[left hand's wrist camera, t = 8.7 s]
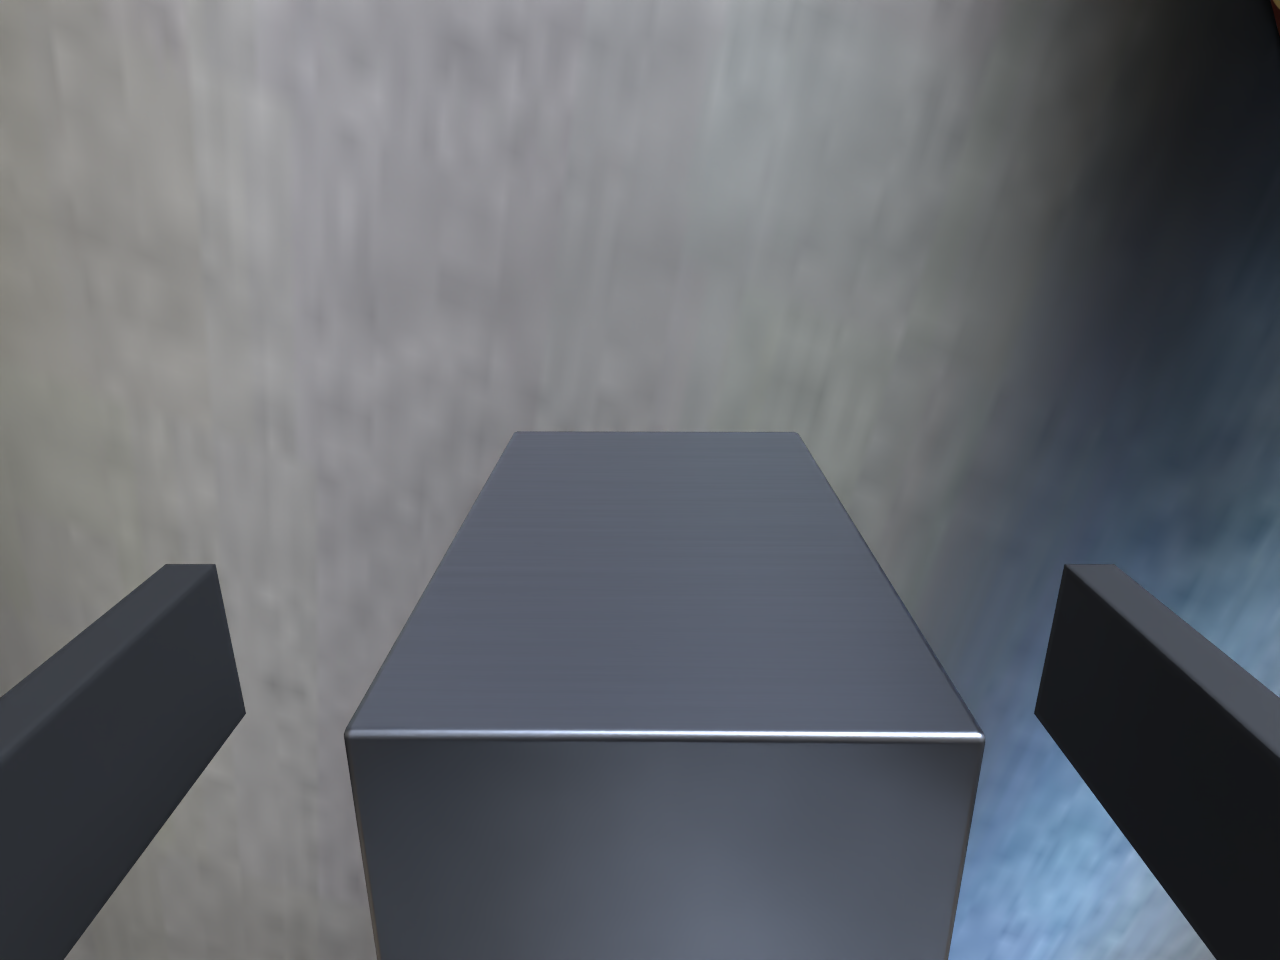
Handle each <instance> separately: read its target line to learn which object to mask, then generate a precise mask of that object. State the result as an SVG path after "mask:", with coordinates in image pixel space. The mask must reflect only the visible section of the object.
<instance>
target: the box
mask: <svg viewBox="0 0 1280 960" xmlns="http://www.w3.org/2000/svg"><path fill="white" fill-rule="evenodd" d="M1271 4H1272V8H1273V12H1274V16H1275V20H1276V24H1277V28H1278V32H1279V36H1280V0H1271Z"/></svg>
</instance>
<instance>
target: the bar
mask: <svg viewBox="0 0 1280 960" xmlns="http://www.w3.org/2000/svg"><path fill="white" fill-rule="evenodd" d="M344 739H345V746H346V753H347V759H348V766H349V773H350V780H351V786H352V793H353V800H354V806H355V813H356V820H357V826H358V833H359V840H360V846H361V853H362V860H363V866H364V873H365V880H366V887H367V893H368V900H369V907H370V913H371V920H372V927H373V933H374V940H375V947H376V953H377V960H948V956H949V950H950V944H951V939H952V933H953V927H954V921H955V915H956V909H957V904H958V898H959V892H960V886H961V880H962V874H963V868H964V863H965V857H966V851H967V845H968V839H969V833H970V828H971V822H972V816H973V810H974V804H975V798H976V792H977V787H978V781H979V775H980V769H981V763H982V757H983V752H984V746H985V736H984V733H983V731H982V729H981V728H980V726H979V725H978V723H977V721H976V720H975V718H974V717H973V715H972V713H971V712H970V710H969V708H968V707H967V705H966V704H965V702H964V700H963V699H962V697H961V696H960V694H959V692H958V691H957V689H956V687H955V686H954V684H953V683H952V681H951V679H950V678H949V676H948V675H947V673H946V671H945V670H944V668H943V666H942V665H941V663H940V662H939V660H938V658H937V657H936V655H935V654H934V652H933V650H932V649H931V647H930V645H929V644H928V642H927V641H926V639H925V637H924V636H923V634H922V633H921V631H920V629H919V628H918V626H917V624H916V623H915V621H914V620H913V618H912V616H911V615H910V613H909V612H908V610H907V608H906V607H905V605H904V603H903V602H902V600H901V599H900V597H899V595H898V594H897V592H896V591H895V589H894V587H893V586H892V584H891V582H890V581H889V579H888V578H887V576H886V574H885V573H884V571H883V570H882V568H881V566H880V565H879V563H878V561H877V560H876V558H875V557H874V555H873V553H872V552H871V550H870V549H869V547H868V545H867V544H866V542H865V540H864V539H863V537H862V536H861V534H860V532H859V531H858V529H857V528H856V526H855V524H854V523H853V521H852V519H851V518H850V516H849V515H848V513H847V511H846V510H845V508H844V507H843V505H842V503H841V502H840V500H839V498H838V497H837V495H836V494H835V492H834V490H833V489H832V487H831V486H830V484H829V482H828V481H827V479H826V477H825V476H824V474H823V473H822V471H821V469H820V468H819V466H818V465H817V463H816V461H815V460H814V458H813V457H812V455H811V453H810V452H809V450H808V448H807V447H806V445H805V444H804V442H803V440H802V439H801V437H800V436H799V434H798V433H796V432H515V433H514V434H513V436H512V438H511V439H510V441H509V443H508V445H507V446H506V448H505V450H504V452H503V453H502V455H501V457H500V459H499V460H498V462H497V464H496V466H495V467H494V469H493V471H492V473H491V474H490V476H489V478H488V480H487V482H486V483H485V485H484V487H483V489H482V490H481V492H480V494H479V496H478V497H477V499H476V501H475V503H474V504H473V506H472V508H471V510H470V511H469V513H468V515H467V517H466V518H465V520H464V522H463V524H462V525H461V527H460V529H459V531H458V532H457V534H456V536H455V538H454V539H453V541H452V543H451V545H450V547H449V548H448V550H447V552H446V554H445V555H444V557H443V559H442V561H441V562H440V564H439V566H438V568H437V569H436V571H435V573H434V575H433V576H432V578H431V580H430V582H429V583H428V585H427V587H426V589H425V590H424V592H423V594H422V596H421V597H420V599H419V601H418V603H417V604H416V606H415V608H414V610H413V612H412V613H411V615H410V617H409V619H408V620H407V622H406V624H405V626H404V627H403V629H402V631H401V633H400V634H399V636H398V638H397V640H396V641H395V643H394V645H393V647H392V648H391V650H390V652H389V654H388V655H387V657H386V659H385V661H384V662H383V664H382V666H381V668H380V670H379V671H378V673H377V675H376V677H375V678H374V680H373V682H372V684H371V685H370V687H369V689H368V691H367V692H366V694H365V696H364V698H363V699H362V701H361V703H360V705H359V706H358V708H357V710H356V712H355V713H354V715H353V717H352V719H351V720H350V722H349V724H348V726H347V727H346V730H345V733H344Z"/></svg>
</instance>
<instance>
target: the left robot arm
mask: <svg viewBox="0 0 1280 960" xmlns="http://www.w3.org/2000/svg"><path fill="white" fill-rule="evenodd" d="M245 714H246V712H245V707H244V702H243V697H242V692H241V687H240V682H239V677H238V672H237V668H236V663H235V658H234V653H233V648H232V643H231V638H230V633H229V628H228V623H227V619H226V614H225V609H224V604H223V599H222V594H221V589H220V584H219V579H218V574H217V570H216V565H215V564H166V565H164V566H163V567H162V568H161V569H159V570H158V571H157V572H156V573H155V574H153V575H152V576H151V577H150V578H148V579H147V580H146V581H145V582H143V583H142V584H141V585H140V586H138V587H137V588H136V589H135V590H133V591H132V592H131V593H130V594H129V595H127V596H126V597H125V598H124V599H122V600H121V601H120V602H119V603H117V604H116V605H115V606H114V607H112V608H111V609H110V610H109V611H107V612H106V613H105V614H104V615H102V616H101V617H100V618H99V619H98V620H96V621H95V622H94V623H93V624H91V625H90V626H89V627H88V628H86V629H85V630H84V631H83V632H81V633H80V634H79V635H78V636H76V637H75V638H74V639H73V640H72V641H70V642H69V643H68V644H67V645H65V646H64V647H63V648H62V649H60V650H59V651H58V652H57V653H55V654H54V655H53V656H52V657H50V658H49V659H48V660H47V661H46V662H44V663H43V664H42V665H41V666H39V667H38V668H37V669H36V670H34V671H33V672H32V673H31V674H29V675H28V676H27V677H26V678H24V679H23V680H22V681H21V682H19V683H18V684H17V685H16V686H15V687H13V688H12V689H11V690H10V691H8V692H7V693H6V694H5V695H3V696H2V697H1V698H0V960H64V958H65V957H66V956H67V954H68V953H69V952H70V950H71V949H72V948H73V946H74V945H75V943H76V942H77V941H78V939H79V938H80V937H81V935H82V934H83V933H84V931H85V930H86V929H87V927H88V926H89V925H90V923H91V922H92V921H93V919H94V918H95V917H96V915H97V914H98V912H99V911H100V910H101V908H102V907H103V906H104V904H105V903H106V902H107V900H108V899H109V898H110V896H111V895H112V894H113V892H114V891H115V890H116V888H117V887H118V885H119V884H120V883H121V881H122V880H123V879H124V877H125V876H126V875H127V873H128V872H129V871H130V869H131V868H132V867H133V865H134V864H135V863H136V861H137V860H138V858H139V857H140V856H141V854H142V853H143V852H144V850H145V849H146V848H147V846H148V845H149V844H150V842H151V841H152V840H153V838H154V837H155V836H156V834H157V833H158V831H159V830H160V829H161V827H162V826H163V825H164V823H165V822H166V821H167V819H168V818H169V817H170V815H171V814H172V813H173V811H174V810H175V809H176V807H177V806H178V804H179V803H180V802H181V800H182V799H183V798H184V796H185V795H186V794H187V792H188V791H189V790H190V788H191V787H192V786H193V784H194V783H195V782H196V780H197V779H198V777H199V776H200V775H201V773H202V772H203V771H204V769H205V768H206V767H207V765H208V764H209V763H210V761H211V760H212V759H213V757H214V756H215V755H216V753H217V752H218V750H219V749H220V748H221V746H222V745H223V744H224V742H225V741H226V740H227V738H228V737H229V736H230V734H231V733H232V732H233V730H234V729H235V728H236V726H237V725H238V724H239V722H240V721H241V719H242V718H243V717H244V715H245ZM1034 714H1035V715H1036V717H1037V718H1038V719H1039V721H1040V722H1041V724H1042V725H1043V726H1044V728H1045V729H1046V730H1047V732H1048V733H1049V734H1050V736H1051V737H1052V738H1053V740H1054V741H1055V742H1056V744H1057V745H1058V746H1059V748H1060V749H1061V751H1062V752H1063V753H1064V755H1065V756H1066V757H1067V759H1068V760H1069V761H1070V763H1071V764H1072V765H1073V767H1074V768H1075V769H1076V771H1077V772H1078V773H1079V775H1080V776H1081V777H1082V779H1083V780H1084V782H1085V783H1086V784H1087V786H1088V787H1089V788H1090V790H1091V791H1092V792H1093V794H1094V795H1095V796H1096V798H1097V799H1098V800H1099V802H1100V803H1101V804H1102V806H1103V807H1104V809H1105V810H1106V811H1107V813H1108V814H1109V815H1110V817H1111V818H1112V819H1113V821H1114V822H1115V823H1116V825H1117V826H1118V827H1119V829H1120V830H1121V831H1122V833H1123V834H1124V836H1125V837H1126V838H1127V840H1128V841H1129V842H1130V844H1131V845H1132V846H1133V848H1134V849H1135V850H1136V852H1137V853H1138V854H1139V856H1140V857H1141V858H1142V860H1143V861H1144V863H1145V864H1146V865H1147V867H1148V868H1149V869H1150V871H1151V872H1152V873H1153V875H1154V876H1155V877H1156V879H1157V880H1158V881H1159V883H1160V884H1161V885H1162V887H1163V888H1164V890H1165V891H1166V892H1167V894H1168V895H1169V896H1170V898H1171V899H1172V900H1173V902H1174V903H1175V904H1176V906H1177V907H1178V908H1179V910H1180V911H1181V912H1182V914H1183V915H1184V917H1185V918H1186V919H1187V921H1188V922H1189V923H1190V925H1191V926H1192V927H1193V929H1194V930H1195V931H1196V933H1197V934H1198V935H1199V937H1200V938H1201V939H1202V941H1203V942H1204V943H1205V945H1206V946H1207V948H1208V949H1209V950H1210V952H1211V953H1212V954H1213V956H1214V957H1215V958H1216V960H1280V698H1279V697H1278V696H1277V695H1275V694H1274V693H1273V692H1272V691H1270V690H1269V689H1268V688H1267V687H1265V686H1264V685H1263V684H1262V683H1261V682H1259V681H1258V680H1257V679H1256V678H1254V677H1253V676H1252V675H1251V674H1249V673H1248V672H1247V671H1246V670H1244V669H1243V668H1242V667H1241V666H1239V665H1238V664H1237V663H1236V662H1234V661H1233V660H1232V659H1231V658H1230V657H1228V656H1227V655H1226V654H1225V653H1223V652H1222V651H1221V650H1220V649H1218V648H1217V647H1216V646H1215V645H1213V644H1212V643H1211V642H1210V641H1208V640H1207V639H1206V638H1205V637H1204V636H1202V635H1201V634H1200V633H1199V632H1197V631H1196V630H1195V629H1194V628H1192V627H1191V626H1190V625H1189V624H1187V623H1186V622H1185V621H1184V620H1182V619H1181V618H1180V617H1179V616H1177V615H1176V614H1175V613H1174V612H1173V611H1171V610H1170V609H1169V608H1168V607H1166V606H1165V605H1164V604H1163V603H1161V602H1160V601H1159V600H1158V599H1156V598H1155V597H1154V596H1153V595H1151V594H1150V593H1149V592H1148V591H1147V590H1145V589H1144V588H1143V587H1142V586H1140V585H1139V584H1138V583H1137V582H1135V581H1134V580H1133V579H1132V578H1130V577H1129V576H1128V575H1127V574H1125V573H1124V572H1123V571H1122V570H1121V569H1119V568H1118V567H1117V566H1116V565H1114V564H1065V565H1064V570H1063V574H1062V579H1061V584H1060V589H1059V594H1058V599H1057V604H1056V609H1055V614H1054V619H1053V623H1052V628H1051V633H1050V638H1049V643H1048V648H1047V653H1046V658H1045V663H1044V668H1043V672H1042V677H1041V682H1040V687H1039V692H1038V697H1037V702H1036V707H1035V712H1034Z"/></svg>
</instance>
